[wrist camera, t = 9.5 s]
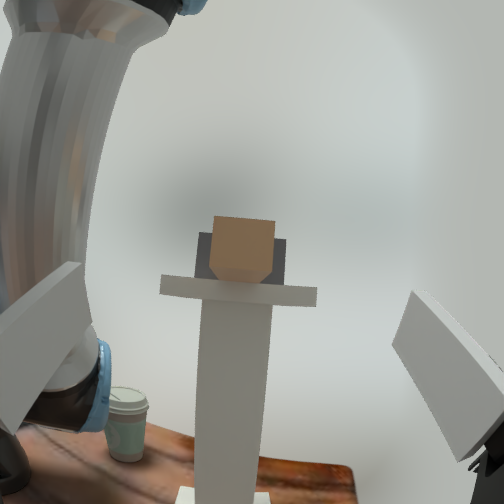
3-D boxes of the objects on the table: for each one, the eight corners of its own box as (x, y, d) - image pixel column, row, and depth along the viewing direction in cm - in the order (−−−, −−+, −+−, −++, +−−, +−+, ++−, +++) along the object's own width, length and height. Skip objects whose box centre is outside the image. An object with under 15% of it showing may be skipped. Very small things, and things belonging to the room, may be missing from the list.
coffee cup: (103, 440, 37) (99, 382, 40) (148, 444, 41) (146, 387, 43) (101, 464, 30) (94, 399, 32) (153, 468, 33) (151, 405, 35)
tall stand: (277, 554, 16) (317, 287, 22) (165, 546, 16) (161, 274, 21) (267, 499, 28) (289, 293, 34) (180, 492, 28) (187, 284, 33)
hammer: (322, 275, 14) (323, 189, 15) (158, 261, 13) (171, 176, 14) (273, 291, 32) (276, 252, 33) (203, 286, 32) (206, 246, 33)
